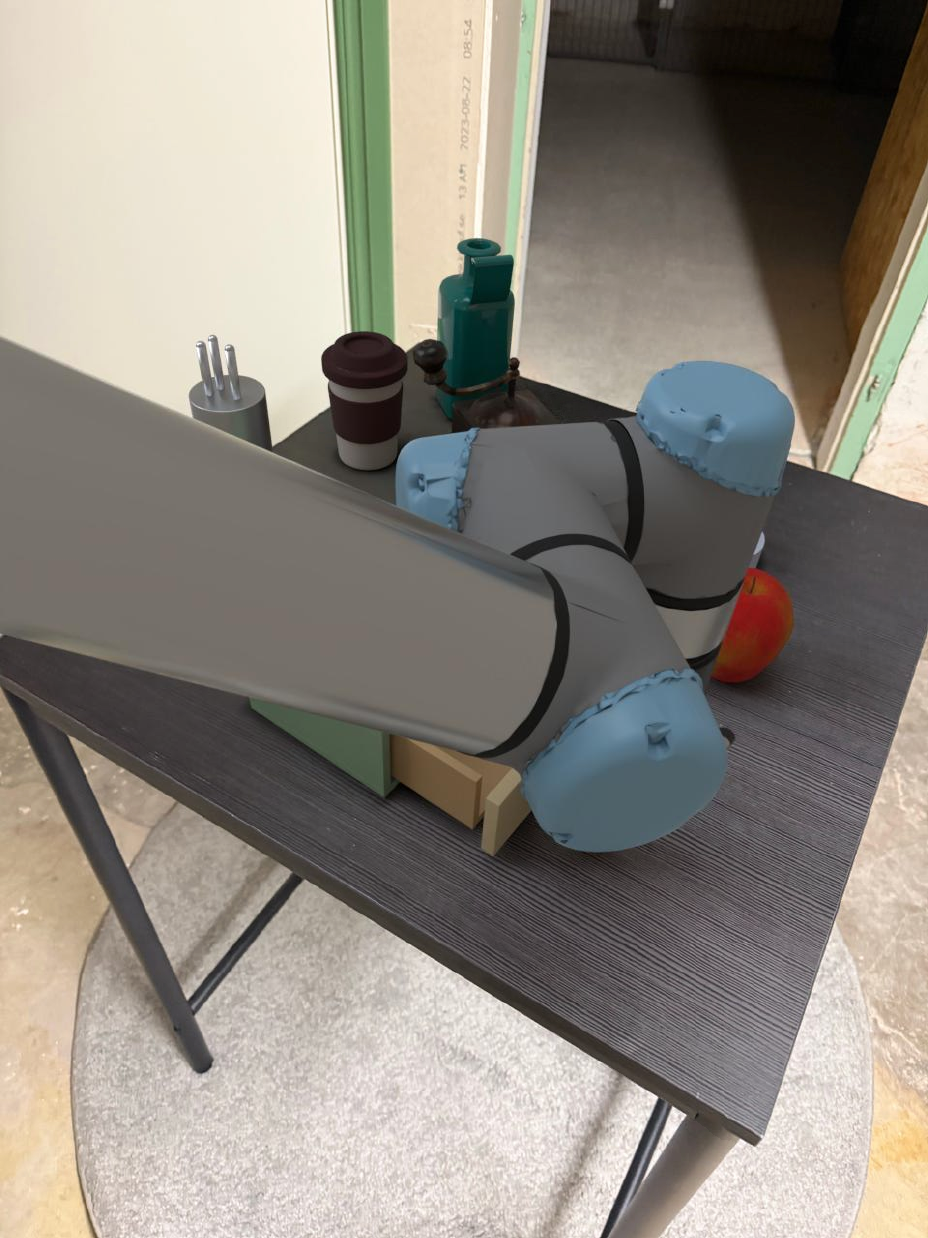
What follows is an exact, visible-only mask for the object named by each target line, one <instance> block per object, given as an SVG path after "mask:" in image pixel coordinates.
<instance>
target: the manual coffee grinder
mask: <svg viewBox="0 0 928 1238" xmlns="http://www.w3.org/2000/svg"><path fill="white" fill-rule="evenodd" d="M447 356H448V351H447V349H446V348H445V346H444V345H443V343H442V342H441V341H438V340H437V339H433V338H428V339H424V340H422V341H421V342H419V343H418V344H417V345H415V347H413V351H412V358H413V362H414V364H415V365H416V366H418V367H419V368H420V369H421V370H422V371H423V373H424V374H423V382H424V383H425V384H427V385H429V386H435V387H436V386H437V388H439V389H440V390H442V391H443V392H444V393H446V394H449V395H452V396H467V395H473V394H477V393H480V392H484V391H487V390H490V389H493V388H494V392H493V393H488V394H485V395H482V396H481V397H479V398H476V399H471V400H465V401H460V402H455V403H453V406H452V409H453V411H452V420H451V434H452V433H459V432H466V431H469V430H470V429H471V428H480V429H490V428H506V427H522V426H538V425H554V424H562V423H561V422H560V421H559V420H558V418H557V417H556V416H554V414H553V413H552V412H551V411H550V410H549V409H548V407H546V406H545V405H544V403H542V401H541V400H540V399H539V398H538V397H537V396H536V395H535V394H534V393H533V392H532V391H531V390H530V389H529V388H528V389H527V388H526V389H521V390H517V389H516V388H517V381H518V380H517V379H518V378H519V377H520V375H521V372H520V370H519V368H520V365H521V361H520V360H519V358H518V357H515V356H511V357H510V360H509V361H508V363H509V369H508V370H507V373H506V374H504V375H503V376H501V377H498V378H496V379H495V380H493V381H490V382H487V383H484V384H480V385H476V386H473V387H469V388H453V387H451V386H449V385H448V384H447V383H445V380H446V379H447V377H448V374H447V372H446V371H445V369H444V367H443V365H444V363H445V361H446V359H447ZM507 382H508V390H507V392H501V387H500V386H501V385H503V384H505V383H507Z"/></svg>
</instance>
